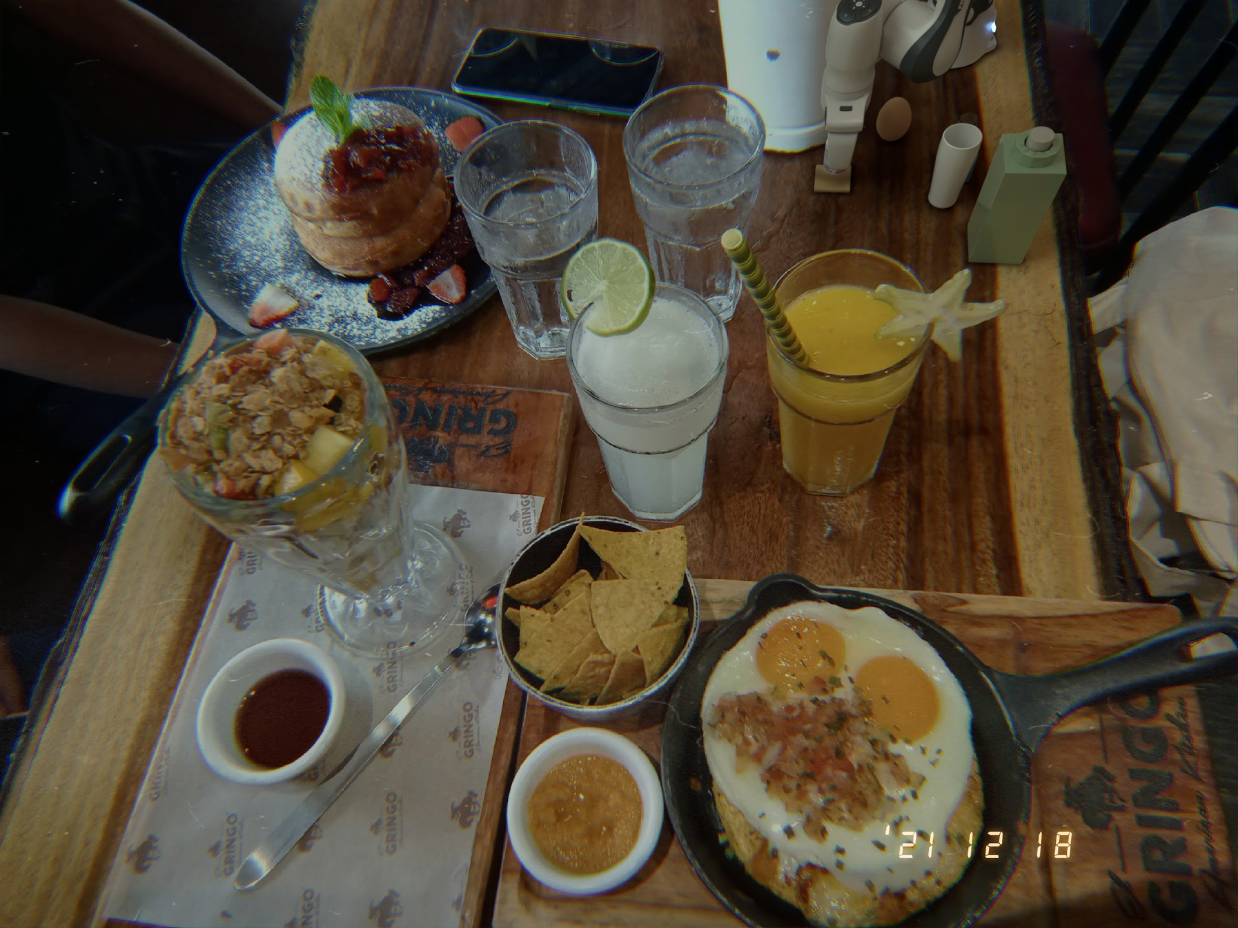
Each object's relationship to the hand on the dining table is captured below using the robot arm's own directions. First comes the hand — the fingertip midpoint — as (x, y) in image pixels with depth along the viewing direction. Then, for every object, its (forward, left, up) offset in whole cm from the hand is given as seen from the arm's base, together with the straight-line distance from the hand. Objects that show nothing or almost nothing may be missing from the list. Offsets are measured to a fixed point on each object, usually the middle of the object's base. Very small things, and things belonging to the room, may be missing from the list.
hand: (837, 154), depth 143 cm
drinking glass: (+5, +21, -7) cm, 22 cm away
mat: (0, 0, -7) cm, 7 cm away
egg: (-12, +11, -7) cm, 18 cm away
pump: (+16, +30, +16) cm, 37 cm away
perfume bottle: (-3, +23, -7) cm, 24 cm away
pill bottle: (0, 0, -3) cm, 3 cm away
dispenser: (+16, +30, -7) cm, 34 cm away
